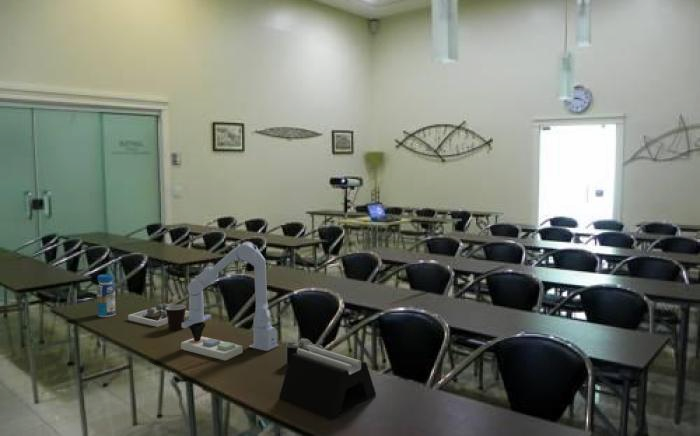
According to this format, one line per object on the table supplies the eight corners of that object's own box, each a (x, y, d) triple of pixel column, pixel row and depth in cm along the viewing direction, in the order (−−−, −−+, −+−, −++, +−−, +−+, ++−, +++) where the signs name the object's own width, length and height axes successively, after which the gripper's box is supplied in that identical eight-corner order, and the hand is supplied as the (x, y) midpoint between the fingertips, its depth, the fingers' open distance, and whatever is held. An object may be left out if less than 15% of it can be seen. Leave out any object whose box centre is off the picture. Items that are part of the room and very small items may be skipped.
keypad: (242, 352, 220) (242, 345, 220) (225, 360, 212) (225, 353, 212) (199, 342, 232) (199, 335, 232) (181, 349, 224) (181, 342, 224)
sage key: (235, 348, 219) (235, 343, 219) (226, 352, 215) (226, 347, 214) (226, 346, 221) (226, 341, 221) (217, 350, 217) (217, 345, 217)
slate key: (220, 345, 223) (220, 340, 223) (211, 348, 219) (211, 343, 218) (211, 342, 225) (211, 338, 225) (202, 346, 221) (202, 341, 221)
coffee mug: (182, 331, 246) (182, 310, 245) (163, 331, 246) (163, 309, 245) (190, 324, 257) (190, 303, 256) (172, 323, 258) (171, 303, 256)
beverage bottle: (97, 313, 273) (95, 274, 271) (115, 311, 276) (114, 272, 274) (97, 318, 265) (95, 277, 263) (116, 316, 269) (114, 276, 267)
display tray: (189, 316, 270) (189, 311, 270) (157, 326, 253) (156, 321, 253) (161, 310, 280) (161, 305, 280) (128, 320, 263) (128, 315, 262)
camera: (327, 363, 210) (327, 338, 209) (321, 370, 203) (321, 344, 202) (291, 359, 214) (291, 334, 213) (284, 365, 207) (284, 340, 206)
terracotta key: (205, 344, 227) (205, 339, 227) (197, 347, 223) (197, 343, 223) (197, 342, 229) (197, 337, 229) (188, 345, 225) (188, 341, 225)
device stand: (325, 379, 196) (325, 338, 194) (375, 397, 182) (376, 353, 180) (279, 400, 179) (278, 355, 177) (330, 421, 164) (331, 373, 163)
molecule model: (149, 332, 267) (151, 324, 258) (139, 317, 269) (141, 309, 260) (176, 317, 275) (179, 309, 267) (167, 302, 277) (169, 294, 269)
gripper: (202, 302, 233) (203, 334, 234) (175, 311, 220) (176, 343, 222) (214, 305, 229) (215, 336, 231) (188, 313, 217) (189, 346, 218)
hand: (197, 340), depth 226 cm, fingers closed, pressing on terracotta key
